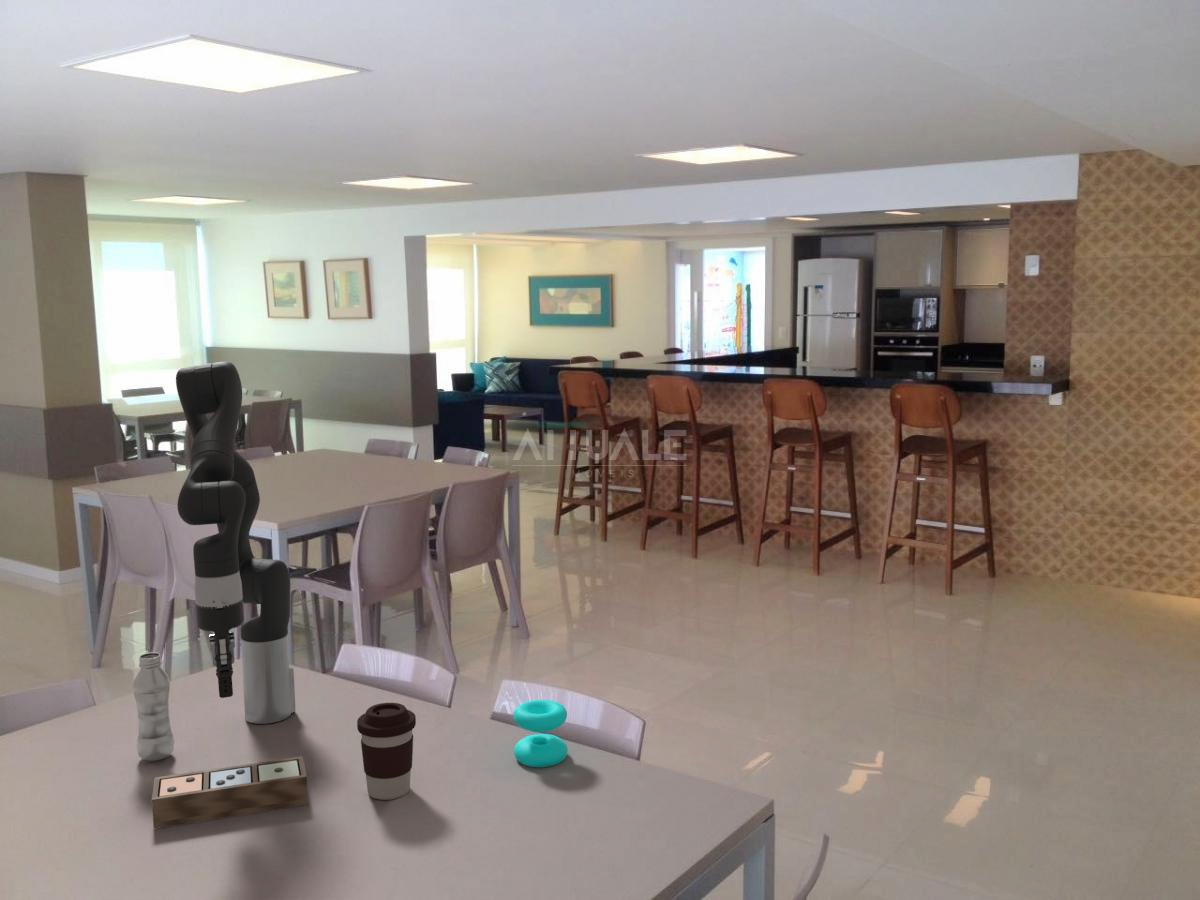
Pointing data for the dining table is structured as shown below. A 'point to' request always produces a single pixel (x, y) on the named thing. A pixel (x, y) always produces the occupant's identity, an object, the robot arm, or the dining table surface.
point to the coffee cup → (387, 749)
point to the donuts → (540, 746)
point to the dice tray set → (229, 796)
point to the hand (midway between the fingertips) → (226, 695)
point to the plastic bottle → (153, 709)
